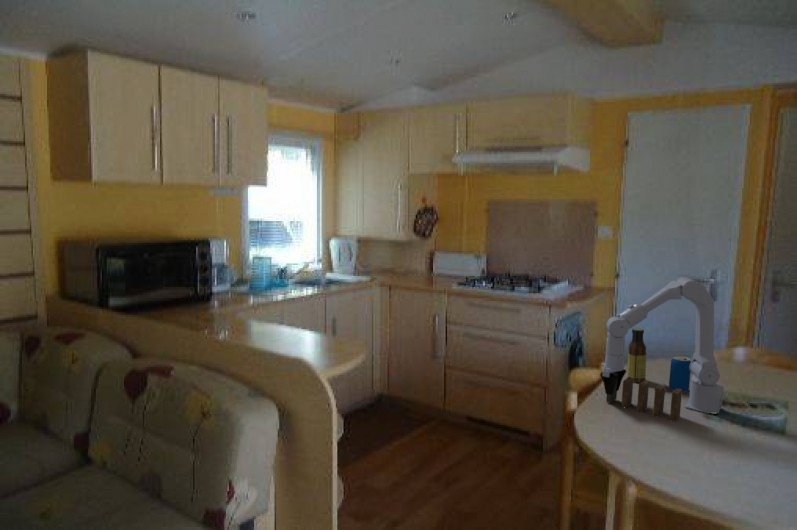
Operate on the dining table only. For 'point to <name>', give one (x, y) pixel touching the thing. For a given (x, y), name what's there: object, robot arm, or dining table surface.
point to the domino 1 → (613, 397)
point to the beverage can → (680, 373)
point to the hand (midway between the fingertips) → (612, 392)
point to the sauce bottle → (637, 356)
